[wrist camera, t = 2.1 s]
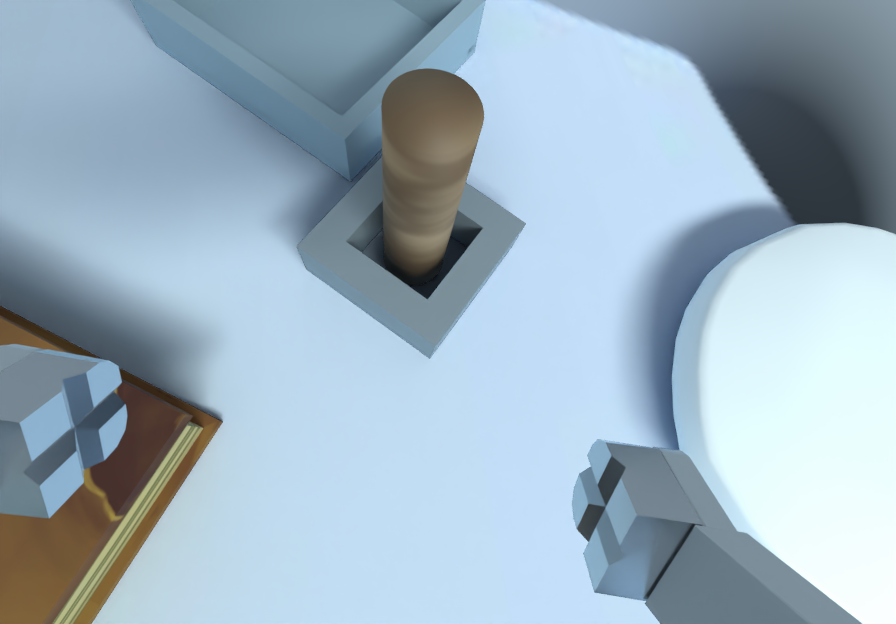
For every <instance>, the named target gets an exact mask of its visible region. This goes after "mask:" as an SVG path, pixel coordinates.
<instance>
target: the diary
mask: <svg viewBox="0 0 896 624" xmlns="http://www.w3.org/2000/svg"><path fill="white" fill-rule="evenodd" d="M10 344H19V345H24V346H30V347H36V348H41V349H45V350H46V349H49V350H55V351H60V352H66V353H71V354H76V355H82V356H87V357H93V358H98V359H101V358H99V357H97V356H96V355H94V354H92V353H90V352H88V351H86V350H84V349H82V348H80V347H78V346H76V345H74V344H72V343H71V342H69V341H67V340H65V339H63V338H61V337H59V336H57V335H55V334H53V333H51V332H49V331H48V330H46V329H44V328H42V327H40V326H38V325H36V324H34V323H32V322H30V321H28V320H26V319H24V318H23V317H21V316H19V315H17V314H15V313H13V312H11V311H9V310H7V309H5V308H3V307H1V306H0V346H1V345H10ZM119 371H120V376H121V380H122V383H121V384H120V385H119V387H118V388H117V389H116V390H115V391H114V392H115V393H116V394H117V395H118V396H119V397H120V398H121V400H122V401H123V402H124V403H125V404H126V410H127V422H126V429H125V432H124V434H123V436H122V438H121V440H120V442H119V444H118V446H117V447H116V448H115V449H114V451H113V452H112V453H111V454H110V455H109V456H108V457H107V458H106V459H105V460H104V461H102V462H100V463H98V464H96V465H93V466H91V467H89V468H87V469H85V470H84V483H83V484H82V485H81V486H80V487H79V488H78V489H77V490H76V491H75V492H74V493H73V494H72V495H71V496H70V497H69V498H68V499H67V500H66V502H65V503H64V504H63V505H62V506H61V507H60V508H59V509H58V510H57V511H56V512H55V513H54V514H53V515H52V516H51V517H50V518H40V517H31V516H22V515H12V514H3V513H0V624H92V622H93V621H94V619H95V618H96V616H97V614H98V613H99V611H100V610H101V608H102V607H103V605H104V604H105V602H106V601H107V599H108V598H109V596H110V595H111V593H112V591H113V590H114V588H115V587H116V585H117V584H118V582H119V581H120V579H121V578H122V576H123V575H124V573H125V571H126V570H127V568H128V567H129V565H130V564H131V562H132V561H133V559H134V558H135V556H136V555H137V553H138V551H139V550H140V548H141V547H142V545H143V544H144V542H145V541H146V539H147V538H148V536H149V535H150V533H151V531H152V530H153V528H154V527H155V525H156V524H157V522H158V521H159V519H160V518H161V516H162V515H163V513H164V511H165V510H166V508H167V507H168V505H169V504H170V502H171V501H172V499H173V498H174V496H175V495H176V493H177V492H178V490H179V488H180V487H181V485H182V484H183V482H184V481H185V479H186V478H187V476H188V475H189V473H190V472H191V470H192V468H193V467H194V465H195V464H196V462H197V461H198V459H199V458H200V456H201V455H202V453H203V452H204V450H205V448H206V447H207V445H208V444H209V442H210V441H211V439H212V438H213V436H214V435H215V433H216V432H217V430H218V428H219V427H220V425H221V424H222V421H220V420H219V419H217V418H215V417H213V416H211V415H209V414H207V413H205V412H203V411H201V410H199V409H197V408H195V407H194V406H192V405H190V404H188V403H186V402H184V401H182V400H180V399H178V398H176V397H174V396H172V395H170V394H169V393H167V392H165V391H163V390H161V389H159V388H157V387H155V386H153V385H151V384H149V383H147V382H146V381H144V380H142V379H140V378H138V377H136V376H134V375H132V374H130V373H128V372H126V371H124V370H122V369H121V368H119Z"/></svg>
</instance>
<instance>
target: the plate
mask: <svg viewBox="0 0 896 624" xmlns="http://www.w3.org/2000/svg"><path fill="white" fill-rule="evenodd" d="M672 391H673V415H674V421H675V426H676V432H677V438H678V444H679V449H680V451H683V452H684V453H685V454H687V455H688V456H689V457H690V458H691V460H692V462H693V463H694V465H695V466H696V468H697V469H698V471H699V472H700V474H701V476H702V477H703V479H704V480H705V482H706V483H707V485H708V486H709V488H710V490H711V491H712V493H713V494H714V496H715V497H716V499H717V500H718V502H719V504H720V505H721V507H722V508H723V510H724V511H725V513H726V515H727V516H728V518H729V519H730V521H731V522H732V524H733V525H734V527H735V529H736V530H737V531H738V532H744V533H747V534H749V535H750V536H751V537H753V538H754V539H755V540H756V541H758V542H759V543H760V544H762V545H763V546H764V547H765V548H767V549H768V550H769V551H770V552H772V553H773V554H774V555H776V556H777V557H778V558H779V559H781V560H782V561H783V562H784V563H786V564H787V565H788V566H790V567H791V568H792V569H793V570H795V571H796V572H797V573H799V574H800V575H801V576H802V577H804V578H805V579H806V580H807V581H809V582H810V583H811V584H813V585H814V586H815V587H816V588H818V589H819V590H820V591H822V592H823V593H824V594H825V595H827V596H828V597H829V598H830V599H832V600H833V601H834V602H836V603H837V604H838V605H839V606H841V607H842V608H843V609H844V610H846V611H847V612H848V613H850V614H851V615H852V616H853V617H855V618H856V619H857V620H859V621H860V622H861V623H862V624H896V234H893V233H890V232H887V231H885V230H882V229H879V228H873V227H867V226H861V225H855V224H849V223H826V224H825V223H824V224H800V225H796V226H792V227H788V228H785V229H783V230H781V231H778V232H776V233H774V234H772V235H769V236H767V237H765V238H763V239H760V240H758V241H756V242H754V243H751V244H749V245H747V246H745V247H742V248H740V249H738V250H736V251H734V252H732V253H731V254H729V255H728V256H727V257H726V258H725V259H724V260H723V261H722V262H720V263H719V264H718V265H717V266H716V267H715V268H714V269H712V270H711V271H710V272H709V273H708V274H707V275H706V277H705V278H704V280H703V281H702V283H701V285H700V286H699V288H698V290H697V291H696V293H695V295H694V296H693V298H692V299H691V301H690V303H689V304H688V306H687V308H686V310H685V313H684V316H683V319H682V322H681V325H680V328H679V331H678V334H677V337H676V342H675V352H674V361H673V371H672Z"/></svg>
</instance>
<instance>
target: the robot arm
mask: <svg viewBox="0 0 896 624" xmlns="http://www.w3.org/2000/svg"><path fill="white" fill-rule="evenodd" d="M121 383H122V380H121V376H120V371H119V367H118V365H116V364H114V363H113V362H111V361H109V360H104V359H98V358H93V357H87V356H82V355H76V354H71V353H66V352H60V351H55V350H49V349H46V350H45V349H41V348H36V347H30V346H24V345H19V344H10V345H1V346H0V513H3V514H12V515H22V516H31V517H40V518H50V517H51V516H52V515H53V514H54V513H55V512H56V511H57V510H58V509H59V508H60V507H61V506H62V505H63V504H64V503H65V502H66V500H67V499H68V498H69V497H70V496H71V495H72V494H73V493H74V492H75V491H76V490H77V489H78V488H79V487H80V486H81V485H82V484H83V483H84V470H85V469H87V468H89V467H91V466H93V465H96V464H98V463H100V462H102V461H104V460H105V459H106V458H107V457H108V456H109V455H110V454H111V453H112V452H113V451H114V449H115V448H116V447H117V446H118V444H119V442H120V440H121V438H122V436H123V434H124V432H125V429H126V422H127V410H126V404H125V403H124V402H123V401H122V400H121V398H120V397H119V396H118V395H117V394H116V393H115V392H114V391H115V390H116V389H117V388H118V387H119V385H120V384H121ZM587 456H588V459H589V462H590V465H591V467H589V468H588V469H586V470H585V471H583V472H582V473H580V474H579V476H578V478H577V481H576V484H575V486H574V491H573V500H572V507H573V517H574V520H575V524H576V528H577V530H578V531H579V532H580V533H581V534H582V535H583V536H584V538H585V539H586V540H587V541H588V545H587V547H586V549H585V551H584V553H583V554H584V557H585V561H586V564H587V568H588V572H589V575H590V579H591V582H592V586H593V589H594V592H595V593H601V594H607V595H613V596H619V597H625V598H631V599H637V600H643V601H646V603H645V604H646V606H647V607H648V608H649V610H650V611H651V612H652V613H653V615H654V616H655V617H656V619H657V620H658V621H659V622H660V624H862V623H861V622H860V621H859V620H857V619H856V618H855V617H853V616H852V615H851V614H850V613H848V612H847V611H846V610H844V609H843V608H842V607H841V606H839V605H838V604H837V603H836V602H834V601H833V600H832V599H830V598H829V597H828V596H827V595H825V594H824V593H823V592H822V591H820V590H819V589H818V588H816V587H815V586H814V585H813V584H811V583H810V582H809V581H807V580H806V579H805V578H804V577H802V576H801V575H800V574H799V573H797V572H796V571H795V570H793V569H792V568H791V567H790V566H788V565H787V564H786V563H784V562H783V561H782V560H781V559H779V558H778V557H777V556H776V555H774V554H773V553H772V552H770V551H769V550H768V549H767V548H765V547H764V546H763V545H762V544H760V543H759V542H758V541H756V540H755V539H754V538H753V537H751V536H750V535H749V534H747V533H744V532H738V531H737V530H736V529H735V527H734V525H733V524H732V522H731V521H730V519H729V518H728V516H727V515H726V513H725V511H724V510H723V508H722V507H721V505H720V504H719V502H718V500H717V499H716V497H715V496H714V494H713V493H712V491H711V490H710V488H709V486H708V485H707V483H706V482H705V480H704V479H703V477H702V476H701V474H700V472H699V471H698V469H697V468H696V466H695V465H694V463H693V462H692V460H691V458H690V457H689V456H688V455H687V454H685V453H684V452H683V451H680V450H672V449H665V448H658V447H653V448H651V447H646V446H639V445H633V444H626V443H620V442H613V441H607V440H600V439H598V440H597V441H596V442H595V443H594V444H593V445H592V447H591V449H590V451H589V453H588V455H587Z"/></svg>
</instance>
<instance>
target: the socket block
mask: <svg viewBox="0 0 896 624" xmlns="http://www.w3.org/2000/svg"><path fill="white" fill-rule="evenodd" d="M525 224H526V223H524V222H523V221H522V220H520V219H519V218H517V217H516V216H514V215H513V214H511V213H510V212H508V211H507V210H505V209H504V208H503V207H501V206H500V205H498V204H497V203H495V202H494V201H492V200H491V199H489V198H488V197H486V196H485V195H484V194H482V193H481V192H479V191H478V190H476V189H475V188H473V187H472V186H470V185H469V184H467V183H465V187H464V190H463V193H462V197H461V200H460V204H459V207H458V211H457V214H456V217H455V221H454V224H453V228H452V231H451V235H450V236H452V237H453V238H454V239H456V240H457V241H459V242H460V243H462V244H463V245H464V246H466V247H467V249H466V251H465V252H464V253H463V255H462V256H461V257H460V258H459V260H458V261H457V262H456V264H455V265H454V266H453V267H452V269H451V270H450V271H449V273H448V274H447V275H446V276H445V278H444V279H443V280H442V282H441V283H440V284H439V285H438V287H437V288H436V289H435V291H434V292H433V293H432V294H431V296H430V297H429V298H428V300H427V299H426V298H425V297H423V296H422V295H420V294H419V293H418V292H416V291H415V290H413V289H412V288H411V287H409V286H408V285H406V284H405V283H404V282H402V281H401V280H399V279H398V278H397V277H395V276H394V275H392V274H391V273H390V272H388V271H387V270H385V269H384V268H383V267H381V266H380V265H378V264H377V263H376V262H374V261H373V260H371V259H370V258H369V257H367V256H366V255H364V254H363V253H362V251H363V250H364V249H365V248H366V246H367V245H368V244H369V243H370V242H371V241H372V240H373V238H374V237H375V236H376V235H377V234H378V233H379V232H380V230H381V229H382V228H383V179H382V157H381V158H380V159H379V160H378V161H377V162H376V163H375V164H374V165H373V166H372V167H371V168H370V169H369V170H368V171H367V172H366V173H365V175H364V176H363V177H362V178H361V179H360V180H359V181H358V182H357V183H356V184H355V185H354V186H353V187H352V188H351V189H350V190H349V191H348V192H347V193H346V195H345V196H344V197H343V198H342V199H341V200H340V201H339V202H338V203H337V204H336V205H335V206H334V207H333V208H332V209H331V210H330V211H329V212H328V214H327V215H326V216H325V217H324V218H323V219H322V220H321V221H320V222H319V223H318V224H317V225H316V226H315V227H314V228H313V229H312V230H311V231H310V232H309V234H308V235H307V236H306V237H305V238H304V239H303V240H302V241H301V242H300V243H299V244H298V245H297V248H298V251H299V253H300V255H301V258H302V260H303V262H304V264H305V267H306V269H307V270H308V271H310V272H311V273H312V274H314V275H315V276H316V277H318V278H319V279H321V280H322V281H323V282H325V283H326V284H327V285H329V286H330V287H332V288H333V289H334V290H336V291H337V292H339V293H340V294H341V295H343V296H344V297H345V298H347V299H348V300H350V301H351V302H352V303H354V304H355V305H356V306H358V307H359V308H361V309H362V310H363V311H365V312H366V313H368V314H369V315H370V316H372V317H373V318H374V319H376V320H377V321H379V322H380V323H381V324H383V325H384V326H385V327H387V328H388V329H390V330H391V331H392V332H394V333H395V334H397V335H398V336H399V337H401V338H402V339H403V340H405V341H406V342H408V343H409V344H410V345H412V346H413V347H414V348H416V349H417V350H419V351H420V352H421V353H423V354H424V355H426V356H427V357H428V358H431V356H432V355H433V354H434V352H435V351H436V350H437V348H438V347H439V346H440V344H441V343H442V342H443V340H444V339H445V337H446V336H447V335H448V333H449V332H450V331H451V329H452V328H453V327H454V325H455V324H456V322H457V321H458V320H459V318H460V317H461V316H462V314H463V313H464V312H465V310H466V309H467V307H468V306H469V305H470V303H471V302H472V301H473V299H474V298H475V297H476V295H477V294H478V292H479V291H480V290H481V288H482V287H483V286H484V284H485V283H486V282H487V280H488V279H489V277H490V276H491V275H492V273H493V272H494V271H495V269H496V268H497V267H498V265H499V264H500V262H501V261H502V260H503V258H504V257H505V256H506V254H507V253H508V252H509V250H510V249H511V247H512V246H513V244H514V243H515V241H516V239H517V238H518V236H519V234H520V233H521V231H522V229H523V228H524V226H525Z"/></svg>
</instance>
